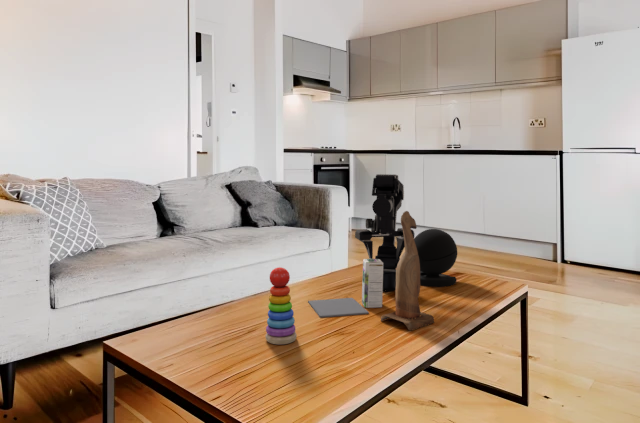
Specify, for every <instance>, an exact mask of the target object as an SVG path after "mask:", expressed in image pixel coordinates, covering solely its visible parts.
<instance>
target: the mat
mask: <svg viewBox="0 0 640 423" xmlns="http://www.w3.org/2000/svg"><path fill="white" fill-rule="evenodd" d="M307 303H308V305H310V306H311V308H312V310H314V312H315V313H316V314H317V316H318V318H331V317H332V318H333V317H343V316H344V317H346V316H358V315H368V314H370V312H369V311H368V310H367V309H366V308H365V307H364V306H362V305H361V304H360V303H359V302H358V301H357V300H356V299H354V298H353V297H343V298H340V297H339V298H329V299H313V300H307Z"/></svg>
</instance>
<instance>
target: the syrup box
mask: <svg viewBox="0 0 640 423" xmlns="http://www.w3.org/2000/svg"><path fill="white" fill-rule="evenodd" d="M361 282H362V284H361V286H362V287H361V304H362V305H363V306H362V307H363V308H365V309H366V308H367V309H368V308H369V309H370V308H372V309H375V308H383V293H384V292H383V262H382V261H381V260H380V259H375V258H372V259H369V258H363V260H362V281H361Z"/></svg>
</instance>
